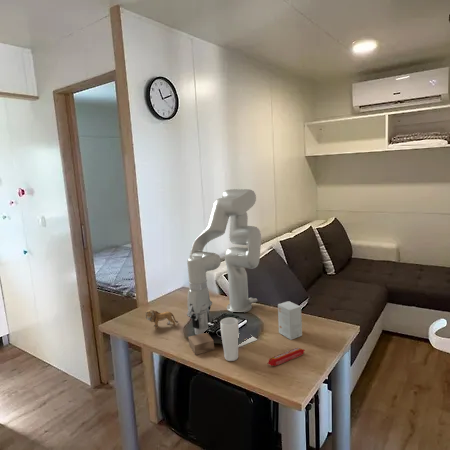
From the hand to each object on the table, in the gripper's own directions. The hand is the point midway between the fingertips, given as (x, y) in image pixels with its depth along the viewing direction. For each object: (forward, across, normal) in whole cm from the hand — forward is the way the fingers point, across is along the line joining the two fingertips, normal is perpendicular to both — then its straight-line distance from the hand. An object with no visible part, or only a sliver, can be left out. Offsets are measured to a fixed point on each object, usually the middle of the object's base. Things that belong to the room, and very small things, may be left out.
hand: (201, 324), depth 158 cm
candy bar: (+5, -1, +41) cm, 41 cm away
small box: (+5, -19, +33) cm, 38 cm away
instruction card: (+5, -4, +17) cm, 18 cm away
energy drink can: (+5, 0, 0) cm, 5 cm away
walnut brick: (+5, +9, +8) cm, 13 cm away
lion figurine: (+5, +4, -22) cm, 22 cm away
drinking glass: (+5, +9, +22) cm, 25 cm away
